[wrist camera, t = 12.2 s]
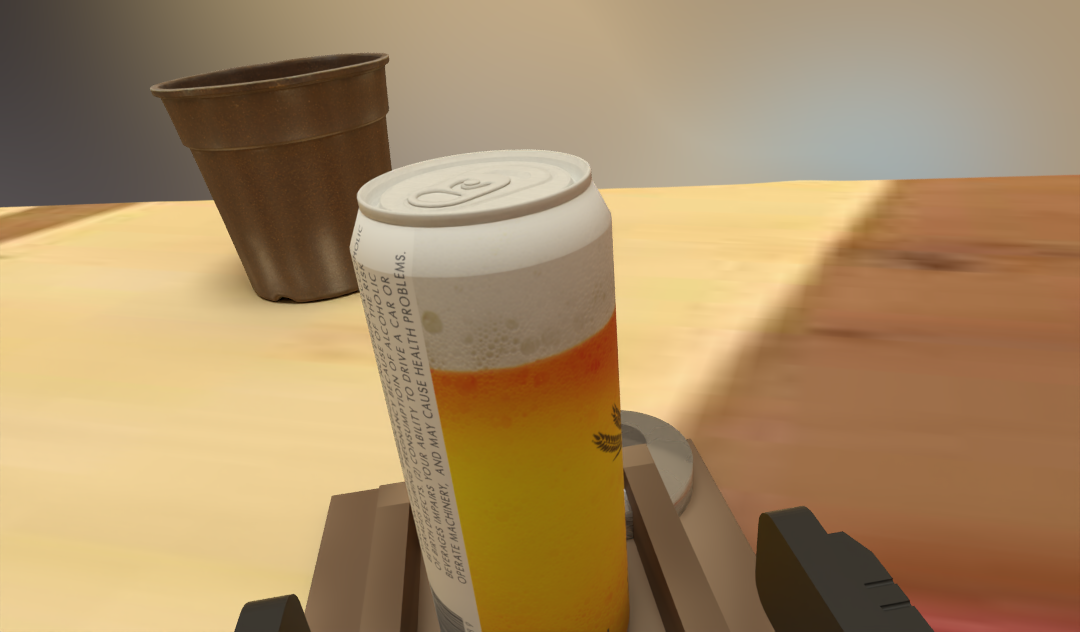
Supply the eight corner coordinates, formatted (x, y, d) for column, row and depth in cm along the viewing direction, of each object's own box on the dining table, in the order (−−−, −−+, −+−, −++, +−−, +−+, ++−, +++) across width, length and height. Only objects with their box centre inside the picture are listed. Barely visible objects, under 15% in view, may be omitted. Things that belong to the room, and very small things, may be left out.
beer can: (667, 611, 21) (662, 157, 15) (544, 763, 18) (463, 240, 11) (532, 529, 25) (481, 138, 19) (407, 639, 21) (286, 196, 15)
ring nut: (550, 564, 24) (544, 512, 23) (531, 457, 30) (525, 411, 29) (715, 536, 25) (717, 483, 24) (665, 436, 31) (665, 390, 29)
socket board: (222, 1016, 14) (175, 954, 13) (335, 506, 28) (318, 451, 27) (917, 868, 15) (940, 796, 14) (690, 449, 30) (691, 394, 28)
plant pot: (255, 341, 44) (173, 91, 37) (202, 278, 56) (132, 80, 49) (461, 268, 52) (427, 52, 45) (377, 227, 64) (339, 51, 57)
